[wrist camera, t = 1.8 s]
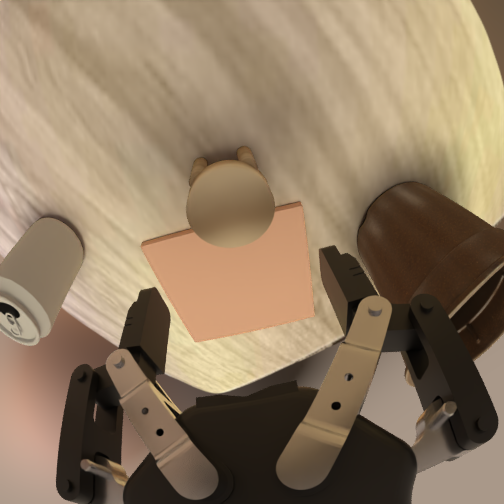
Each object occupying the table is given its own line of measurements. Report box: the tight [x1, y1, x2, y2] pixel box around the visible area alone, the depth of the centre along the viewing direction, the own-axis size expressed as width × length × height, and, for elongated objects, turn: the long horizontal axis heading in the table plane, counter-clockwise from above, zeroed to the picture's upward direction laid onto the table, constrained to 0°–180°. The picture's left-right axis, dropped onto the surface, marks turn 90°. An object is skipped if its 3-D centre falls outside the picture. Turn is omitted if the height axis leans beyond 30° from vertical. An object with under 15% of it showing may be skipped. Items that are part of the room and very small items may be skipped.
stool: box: [186, 146, 275, 248], centre depth 21 cm, size 6×6×6 cm
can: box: [0, 217, 84, 346], centre depth 20 cm, size 8×8×12 cm
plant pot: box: [357, 182, 504, 387], centre depth 23 cm, size 16×16×16 cm
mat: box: [141, 202, 315, 342], centre depth 31 cm, size 16×16×1 cm
